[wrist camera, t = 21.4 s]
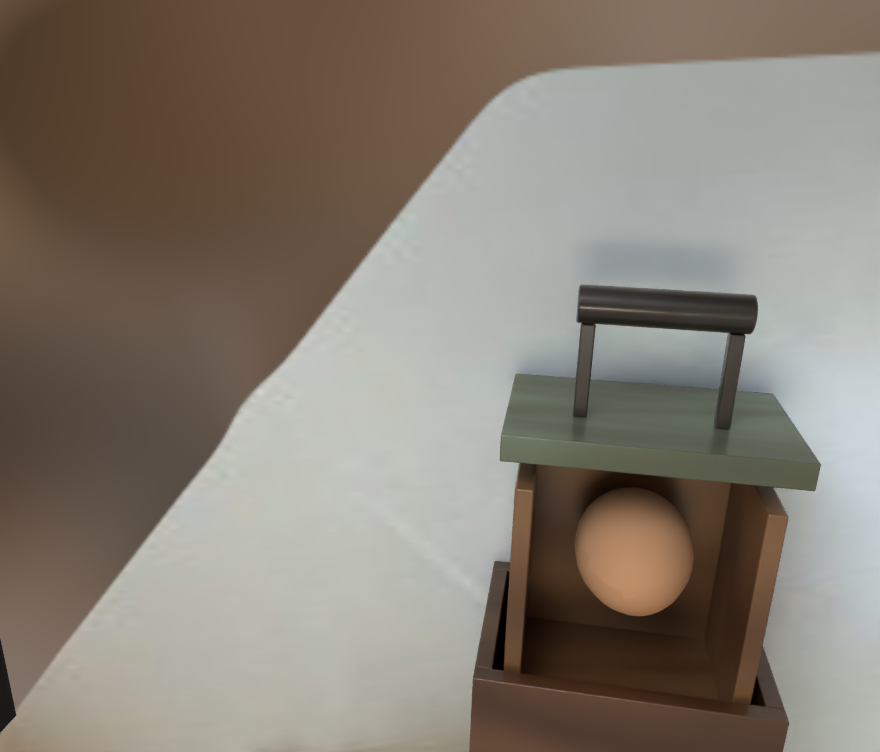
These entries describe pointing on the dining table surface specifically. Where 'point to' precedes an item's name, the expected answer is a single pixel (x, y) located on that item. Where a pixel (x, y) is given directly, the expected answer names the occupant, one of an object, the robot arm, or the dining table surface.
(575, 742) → the cabinet
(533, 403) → the drawer
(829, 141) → the dining table surface
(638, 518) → the egg
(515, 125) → the dining table surface
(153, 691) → the dining table surface
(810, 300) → the dining table surface
